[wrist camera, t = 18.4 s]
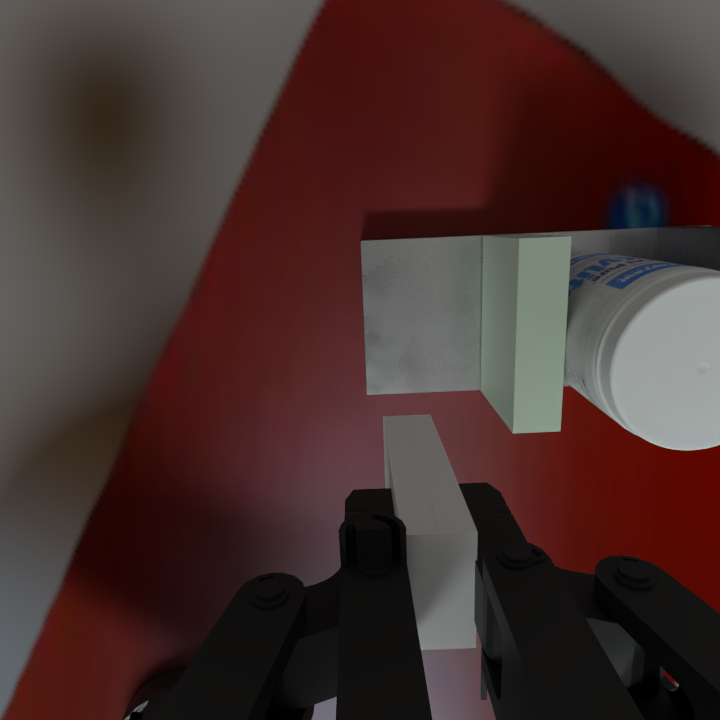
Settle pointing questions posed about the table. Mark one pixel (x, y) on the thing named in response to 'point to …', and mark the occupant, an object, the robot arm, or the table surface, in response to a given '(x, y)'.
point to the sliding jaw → (525, 328)
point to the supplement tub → (647, 346)
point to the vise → (471, 299)
